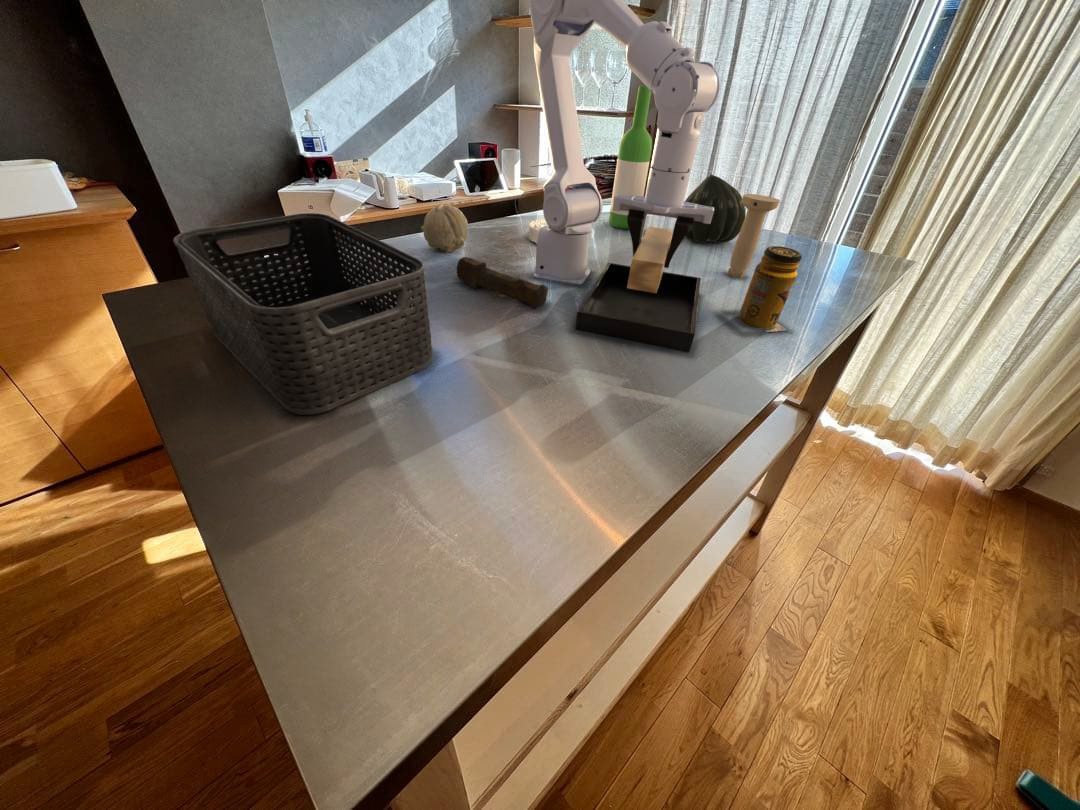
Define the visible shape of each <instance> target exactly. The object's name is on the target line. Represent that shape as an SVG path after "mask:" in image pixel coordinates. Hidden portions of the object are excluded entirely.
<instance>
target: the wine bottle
mask: <svg viewBox="0 0 1080 810" xmlns="http://www.w3.org/2000/svg"><path fill="white" fill-rule="evenodd" d="M637 89H638V90H637V96H636V100H635V101H636V102H635V107H634V113H633V118H632V126H631V128H630V129H628V130H627V131H626V132H625V133H624V134H623V136H622V138H621V139H620V143H619V146H618V154H617V159H616V166H615V174H614V180H613V187H612V194H611V201H610V209H609V217H608V223H609V225H610V226H612V227H614V228H616V229H621V230H629V226H628V223H627V217H628V213H629V211H622V210H620V211H614V210H613V203H614V197H615V196H616V195H617V194H618V195H628V196H645V190H646V189H645V188H646V182H647V179H648V178H647V177H648V171H649V167H650V161H651V160H650V159H651V154H652V148H653V141H652V140H653V139H652V137H651V134H650V133H649V132H648V130H647V127H646V126H647V119H648V113H649V107H650V102H651V96H652V91H651V90H650V89H649V88H648V87H647V86H646V85H639V86H638V88H637Z"/></svg>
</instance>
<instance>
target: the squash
mask: <svg viewBox="0 0 1080 810" xmlns="http://www.w3.org/2000/svg"><path fill="white" fill-rule="evenodd" d="M742 199H743V196H742V194H740V191H739V190H737V189H736V188H735V187H734V186H733V185H731V184H730V183H729V182H727V181H726V180H724V179H722V178H721V177H720V176H717V175H714V174H709V176H707V177H706V178H705V179H703V180H702V181H701V183H700V184H699V185H698V186H697V187H696V188H695V189H694V190H692V192H691V193H690V194H689V195H688V196H687V197H686V198H685V199H684V202H689V203H693V204H698V205H703V206H708V207H714V212H713V216H712V219H711V223H710V224H706V223H703V222H700V221H693V225H692V228H691V230H690V231H689V232H688V234H687V235H686V236H685V238H686V239H688V240H689V241H692V242H693V241H695V242H696V243H697V244H705V243H707V242H708V241H709V242H711V243H715V242H716V243H719V244H725V243H728V242H730V241H732V240H734V239H735V238H737V237H738V236H739V233H740V230H741V228H742V225H743V222H744V220H745V217H746V214H747V211H746V206H744V205H743V203H742Z"/></svg>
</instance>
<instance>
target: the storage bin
mask: <svg viewBox="0 0 1080 810" xmlns="http://www.w3.org/2000/svg"><path fill="white" fill-rule="evenodd" d="M284 230H289V233H288V241H287V242H286V243H281V244H277V245H271V246H265V247H261V248H255V249H250V250H245V251H239V252H233V253H228V252H226V251H225V250H224V248H222V246H221V245H220V243H218V241H223V240H230V239H235V238H242V237H247V236H255V235H260V234H266V233H271V232H272V233H273V232H277V231H284ZM172 242H173V244H174V246H175V247H176V248H177V251H178V254H179V256H180V259H181V261H182V263H183V264H184V268H185V270H186V272H187V275H188V278H189V279H190V281H191V285H192V286H193V290H194V291H195V293H196V294H197V297H198V300H199V303H200V306H201V308H203V311H204V315H205V316H206V320H207V321H208V322H209V324H210V327H211V331H212V333H213V336H214V337H215V338H216V339H217V340H218V341H219V342H220V344H222V345H223V346H224V347H225V348H226V349H227V350H228V352H230V353H231V355H232V356H233V357H234V358H235V359H236V360H237V361H238V362H239V363H240V364H241V365H242V366H243V367H244V368H245V369H246V370H247V371H248V372H249V373H250V374H251V375H252V377H254V378H255V379H256V381H257V382H258V383H260V384H261V386H262V387H263V388H264V389H265V390H266V391H267V392H268V393H269V394H270V395H271V396H272V397H273V398H274V399H275V400H276V401H277V402H278V403H279V404H280V405H281V406H282V407H283V408H284V409H285V410H286V411H288V412H290V413H293V414H296V415H303V416H304V415H306V416H307V415H308V416H309V415H310V416H311V415H317V414H320V413H325V412H328V411H332V410H333V409H335V408H338V407H340V406H342V405H344V404H347V403H349V402H351V401H353V400H356V399H359V398H360V397H363V396H364V395H367V394H369V393H372V392H374V391H376V390H379V389H381V388H383V387H386V386H388V385H390V384H393V383H394V382H397V381H399V380H401V379H404V378H406V377H409V376H410V375H413V374H415V373H417V372H419V371H422V370H424V369H425V368H428V367H429V365H431V364H432V362H433V360H434V352H433V346H432V333H431V326H430V325H431V321H430V317H429V304H428V296H427V294H428V292H427V288H426V273H425V264H424V262H423V261H422V260H421V259H420V258H418V257H416V256H413V255H411V254H409V253H407V252H405V251H403V250H401V249H399V248H397V247H395V246H392V245H390V244H388V243H386V242H384V241H382V240H380V239H378V238H376V237H374V236H372V235H370V234H368V233H366V232H363V231H361V230H359V229H357V228H355V227H354V226H351V225H349V224H347V223H345V222H344V221H341V220H338V219H337V218H335V217H333V216H330V215H328V214H323V213H314V212H307V213H306V212H305V213H295V214H288V215H283V216H277V217H271V218H264V219H257V220H250V221H243V222H236V223H230V224H224V225H223V224H222V225H217V226H209V227H202V228H196V229H195V228H194V229H191V230H187V231H183V232H182V233H179V234H177V235H176V236H174V237H173V239H172ZM224 264H225V265H224Z"/></svg>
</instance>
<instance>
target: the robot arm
mask: <svg viewBox="0 0 1080 810" xmlns="http://www.w3.org/2000/svg"><path fill="white" fill-rule="evenodd" d="M528 6H529V12H530V13H529V14H530V20H531V26H532V31H533V32H532V33H533V56H534V63H535V66H536V67H535V68H536V75H537V81H538V87H539V88H538V89H539V94H540V100H541V106H542V107H541V108H542V112H543V119H544V123H545V124H544V126H545V132H546V139H547V144H548V151H549V157H550V158H549V159H550V163H551V170H552V174H551V175H550V176H549V178H548V180H546V182H545V183H544V185H543V186H542V191H543V204H542V212H543V217H544V218H543V219H545V220H546V222H547V224H548V225H543V226H542V227H541V229H540V231H539V234H538V239H537V244H536V249H535V250H536V253H535V269H534V270H535V273H534V275H533V277H534V278H536V279H545V280H551V281H556V282H561V283H568V284H573V285H579V286H582V285H583V284H584V282H585V281H586V279H587V278H588V277H589V275H590V274H591V272H592V270H591V269H589V268H587V265H588V255H589V248H590V247H589V246H590V238H591V230H592V229H594V225H595V222H597V221H598V220H599V219H600V217H601V215H602V212H603V198H602V196H601V194H600V192H599V189H598V188H597V187H598V186H597V183H596V177H595V176H594V175H593V174H592V172H590V171H589V170H588V169H587V167H586V166H585V162H584V155H583V154H584V153H583V148H582V140H581V134H580V132H581V131H580V126H579V125H580V123H579V117H578V110H577V103H576V96H575V89H574V82H573V81H574V80H573V73H572V67H571V55H572V53H573V51H574V49H575V50H576V49H577V47H578V46H579V45H580V43H581V42H582V41H583V40H584V38H585V37H586V35H587V34H588V33H589V31H590V30H591V29H592V27H593V26H594V25H595V24H596V25H598V27H600V28H601V29H602V30H603V31H604V32H605V33H607V35H608V36H610V37H611V38H612V39H613V40H614V41H615V42H616V43H617V44H619V46H621V47H622V48H623V49H624V50H625V62H626V65H627V68H628V69H629V70H630V71H631V72H632V73H633V74H634V75H635V77H637V78H638V79H639V80H640V82H642V83H643V84H644V86H647V87H648V88H649V89H650V90H651V93H652V94H653V95H654V103H655V106H656V109H657V120H656V125H657V130H656V137H655V141H654V146H653V151H652V157H651V162H650V166H649V167H650V168H649V173H648V178H647V184H646V189H645V193H644V195H643V196H628V195H618V194H617V195H616V196H615V197H614V203H613V210H614V211H620V210H622V211H629V213H628V217H627V223H628V226H629V229H628V230H629V233H630V239H631V245H632V257H633V256H634V255H635V253H636V251H637V249H638V247H639V245H640V243H641V241H642V239H643V235H644V230H645V224H646V220H647V215H651V216H658V217H665V218H673V219H675V223H674V226H673V229H672V230H673V235H672V239H671V244H670V248H669V251H668V254H667V257H666V261H665V266H664V269H669V268H670V267H669V266H670V264H671V261H672V259H673V257H674V255H675V254H676V252H677V250H678V248H679V246H680V245H681V243H682V242H683V240H684V239H685V238H686V235H687V234H688V232H689V231H690V230H691V228H692V225H693V221H700V222H703V223H706V224H710V223H711V219H712V216H713V212H714V207H708V206H703V205H698V204H693V203H689V202H685V200H686V195H687V191H688V186H689V182H690V178H691V174H692V170H693V165H694V162H695V158H696V152H697V149H698V144H699V140H700V137H701V132H702V128H703V123H704V119H705V115H706V113H707V112H708V111H710V109H712V107H713V106H714V104H715V103H716V101H717V99H718V96H719V92H720V86H721V84H720V83H721V81H720V77H719V74H718V72H717V70H716V69H715V67H714V65H713V63H711V62H708V61H699V62H696V60H695V57H694V56H695V54H696V52H695V50H694V49H692V48H691V47H689V46H686V47H684V46H683V45H682V44H681V42H679V41H678V40H677V39H676V38H675V37H674V36H673V35H672V34H671V32H672V30H673V27H672V25H670V23H668V22H667V21H662V20H660V21H659V22H658V21H656V20H652V21H648V22H646V23H644V22H643V21H642V20H641V19H640V18H639V17H638V15H637V14H636V13H635V12H634V11H633V10H632V9H631V8H630V6H629V5H628V4H627V3H626V1H624V0H528Z"/></svg>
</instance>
